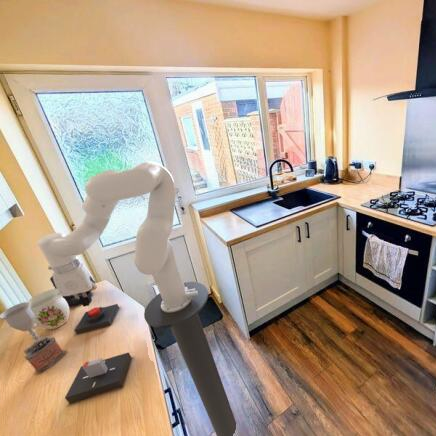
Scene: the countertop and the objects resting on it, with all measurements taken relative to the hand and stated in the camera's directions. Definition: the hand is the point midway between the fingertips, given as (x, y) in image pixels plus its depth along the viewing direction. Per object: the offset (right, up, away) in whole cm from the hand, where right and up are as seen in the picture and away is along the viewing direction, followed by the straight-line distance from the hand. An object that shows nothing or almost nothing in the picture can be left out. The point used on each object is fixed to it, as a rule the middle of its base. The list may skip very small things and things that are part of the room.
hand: (87, 303), depth 97 cm
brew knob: (+21, -14, -21) cm, 33 cm away
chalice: (-13, -14, -5) cm, 20 cm away
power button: (+1, -5, +2) cm, 6 cm away
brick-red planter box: (-3, -16, -12) cm, 20 cm away
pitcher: (-17, -10, +4) cm, 20 cm away
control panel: (+21, -17, -20) cm, 34 cm away
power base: (+1, -8, +4) cm, 9 cm away
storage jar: (-18, -4, +17) cm, 26 cm away
